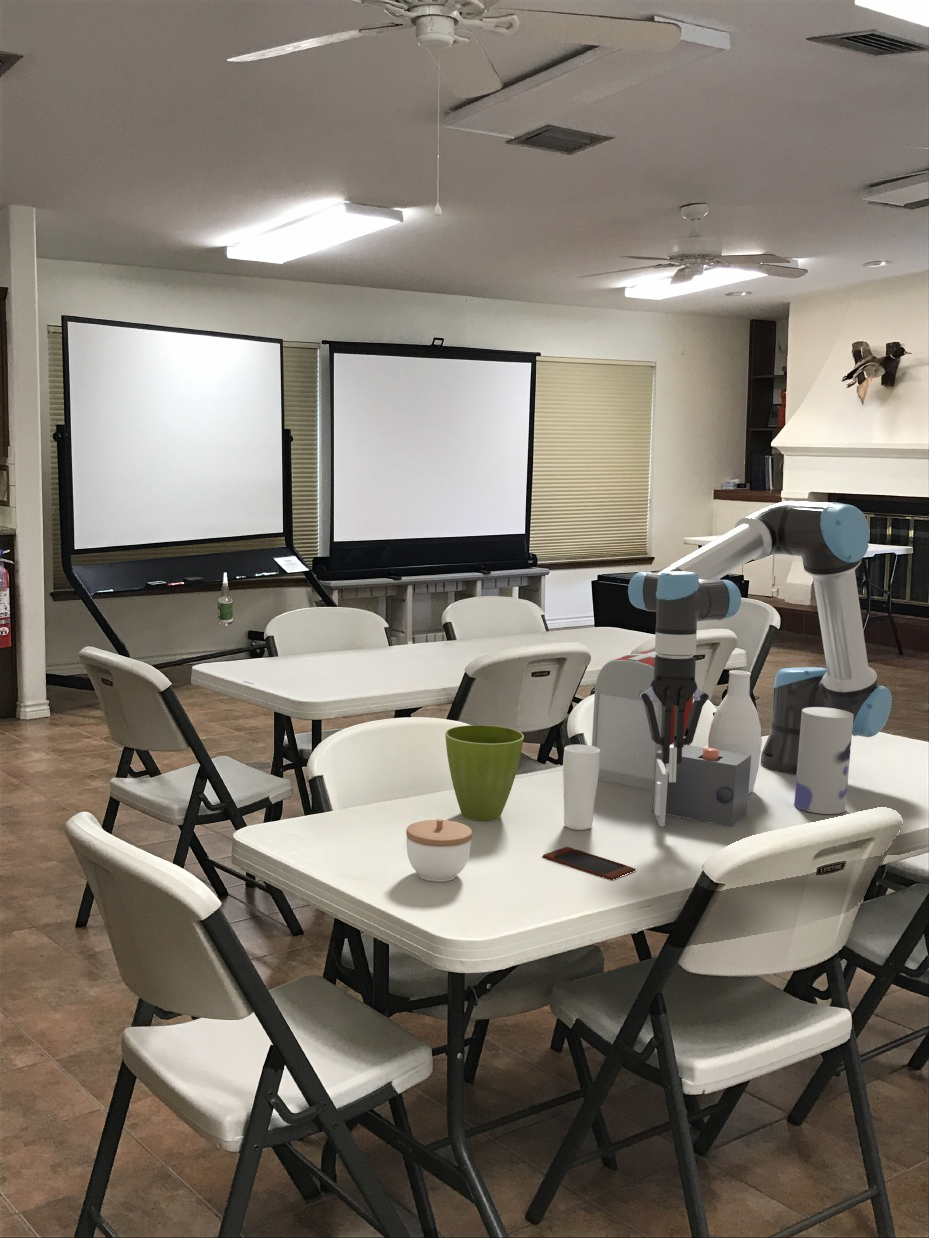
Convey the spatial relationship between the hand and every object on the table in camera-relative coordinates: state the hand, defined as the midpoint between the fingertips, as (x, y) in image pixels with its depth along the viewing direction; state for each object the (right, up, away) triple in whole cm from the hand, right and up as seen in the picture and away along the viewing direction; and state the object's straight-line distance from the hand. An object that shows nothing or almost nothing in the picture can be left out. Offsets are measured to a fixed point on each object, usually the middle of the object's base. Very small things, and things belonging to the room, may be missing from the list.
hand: (670, 780), depth 222 cm
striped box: (0, -5, +39) cm, 39 cm away
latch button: (+9, +2, +9) cm, 13 cm away
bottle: (+18, -6, +31) cm, 37 cm away
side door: (-2, -8, +6) cm, 10 cm away
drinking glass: (-17, -9, +1) cm, 19 cm away
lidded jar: (-43, -12, -28) cm, 53 cm away
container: (+34, -9, +20) cm, 40 cm away
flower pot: (-35, -8, +5) cm, 37 cm away
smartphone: (-17, -12, -20) cm, 29 cm away
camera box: (+8, -8, +13) cm, 17 cm away
